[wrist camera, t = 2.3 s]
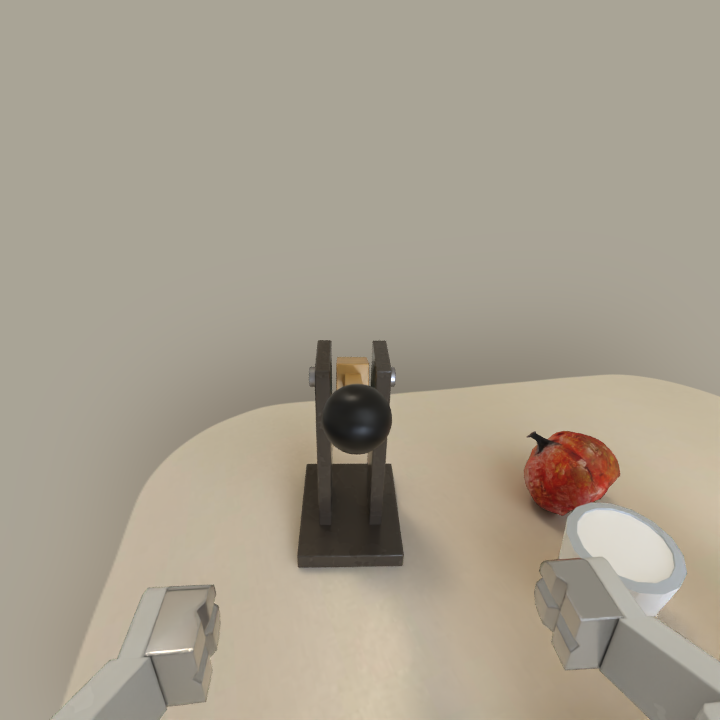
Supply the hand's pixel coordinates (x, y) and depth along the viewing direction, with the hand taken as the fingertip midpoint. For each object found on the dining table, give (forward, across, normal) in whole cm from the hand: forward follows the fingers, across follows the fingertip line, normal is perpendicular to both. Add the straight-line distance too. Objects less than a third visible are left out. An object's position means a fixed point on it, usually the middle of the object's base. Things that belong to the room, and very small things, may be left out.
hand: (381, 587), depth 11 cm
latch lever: (+15, 0, +5) cm, 16 cm away
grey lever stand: (+21, 0, +19) cm, 28 cm away
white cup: (+12, -17, +20) cm, 29 cm away
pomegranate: (+22, -20, +19) cm, 35 cm away
